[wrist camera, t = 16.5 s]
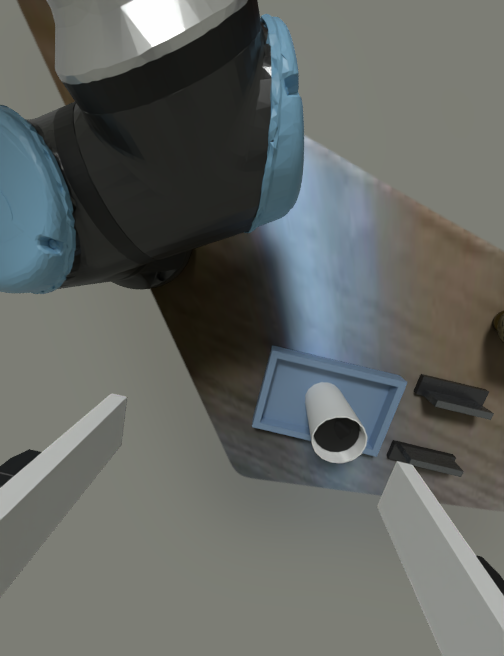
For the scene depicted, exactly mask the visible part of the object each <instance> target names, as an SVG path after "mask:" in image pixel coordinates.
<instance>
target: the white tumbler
mask: <svg viewBox="0 0 504 656" xmlns="http://www.w3.org/2000/svg"><path fill="white" fill-rule="evenodd" d="M305 405H306V411H307V417H308V423H309V430H310V436H311V442H312V445H313V448H314V450H315V452H316V453H317V454H318V455H319V456H320V457H321V458H322V459H324V460H326V461H329V462H331V463H345V462H348V461H352V460H354V459H355V458H357V457H358V456H359V455H361V453H362V452H363V450H364V449H365V447H366V444H367V434H366V431H365V428H364V427H363V425H362V424H361V422H360V420H359V419H358V417H357V416H356V414H355V413H354V411H353V410H352V408H351V407H350V405H349V404H348V402H347V401H346V399H345V397H344V396H343V394H342V393H341V391H340V390H339V389H338V388H337V387H336V386H335V385H333V384H331V383H327V382H320V383H317V384H314V385H313V386H312V387H311V388H309V389H308V391H307V393H306V395H305Z"/></svg>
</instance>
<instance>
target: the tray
mask: <svg viewBox="0 0 504 656" xmlns="http://www.w3.org/2000/svg"><path fill="white" fill-rule="evenodd" d="M320 382H327V383H331V384H333V385H335V386H336V387H337V388H338V389H339V390H340V391H341V393H342V394H343V396H344V397H345V399H346V401H347V402H348V404H349V405H350V407H351V408H352V410H353V411H354V413H355V414H356V416H357V417H358V419H359V420H360V422H361V424H362V425H363V427H364V428H365V431H366V434H367V444H366V447H365V449H364V450H363V452H362V453H363V454H367V455H372V456H376V457H377V455H378V452H379V450H380V448H381V445H382V443H383V440H384V438H385V436H386V433H387V431H388V428H389V426H390V423H391V421H392V419H393V416H394V414H395V411H396V409H397V407H398V404H399V402H400V399H401V397H402V394H403V392H404V390H405V387H406V385H407V382H406V381H405V380H404V379H403V378H402V377H401V376H400V375H396V374H391V373H387V372H383V371H379V370H375V369H370V368H366V367H362V366H358V365H354V364H349V363H345V362H341V361H337V360H333V359H328V358H324V357H320V356H316V355H312V354H307V353H303V352H299V351H295V350H291V349H286V348H282V347H278V346H274V345H272V347H271V351H270V355H269V359H268V363H267V366H266V370H265V374H264V378H263V382H262V385H261V389H260V393H259V397H258V401H257V405H256V408H255V412H254V416H253V423H252V427H254V428H259V429H263V430H267V431H271V432H275V433H280V434H284V435H288V436H292V437H296V438H300V439H305V440H309V441H311V436H310V430H309V423H308V417H307V411H306V405H305V395H306V393H307V391H308V389H309V388H311V387H312V386H313V385H314V384H317V383H320Z"/></svg>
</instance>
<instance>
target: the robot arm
mask: <svg viewBox="0 0 504 656" xmlns="http://www.w3.org/2000/svg"><path fill="white" fill-rule="evenodd" d="M46 1H47V2H48V4H49V6H50V7H51V10H52V13H53V17H54V21H55V25H56V27H55V70H56V73H57V75H58V76H59V78H60V80H61V81H62V82H63V84H64V85H65V87H66V88H67V90H68V91H69V93H70V94H71V96H72V97H73V99H74V100H75V102H73V103H71V104H68V105H66V106H64V107H62V108H59V109H57V110H54V111H52V112H49V113H47V114H45V115H42V116H40V117H38V118H35V119H30V120H25V119H24V118H22V117H21V116H20V115H19V114H18V113H17V112H15V111H14V110H12V109H10V108H8V107H7V106H4V105H0V291H1V292H6V293H30V292H31V293H34V294H39V293H40V294H45V293H49V292H52V291H54V290H56V289H61V288H68V287H75V286H81V285H88V284H95V283H102V282H110V281H111V282H113V283H115V284H118V285H120V286H123V287H127V288H132V289H150V288H154V287H158V286H161V285H164V284H166V283H168V282H170V281H171V280H173V279H174V278H175V277H177V276H178V275H179V274H180V273H181V271H182V270H183V269H184V267H185V266H186V264H187V262H188V260H189V258H190V255H191V252H192V249H194V248H197V247H200V246H203V245H206V244H209V243H213V242H216V241H219V240H222V239H225V238H228V237H231V236H234V235H237V234H240V233H243V232H244V233H250V232H252V231H253V230H255V229H256V228H257V227H259V226H261V225H264V224H267V223H269V222H272V221H274V220H277V219H280V218H282V217H283V216H285V215H286V214H287V213H288V212H289V211H290V209H291V208H293V206H294V205H295V203H296V201H297V198H298V195H299V192H300V188H301V182H302V175H303V162H304V121H303V106H302V99H301V97H300V96H299V93H298V87H299V86H298V66H297V59H296V54H295V50H294V46H293V42H292V38H291V36H290V33H289V30H288V28H287V26H286V25H285V23H284V22H283V21H282V20H281V19H280V18H279V17H271V16H270V15H269V14H264V15H263V16H261V18H260V14H259V8H258V2H257V0H46ZM126 402H127V397H126V396H122V395H118V394H113V393H111V394H110V395H109V396H107V397H106V398H105V399H104V400H103V401H102V402H101V403H99V404H98V405H97V406H96V407H95V408H93V409H92V410H91V411H90V412H89V413H87V414H86V415H85V416H84V417H83V418H82V419H81V420H79V421H78V422H77V423H76V424H75V425H73V426H72V427H71V428H70V429H69V430H68V431H66V432H65V433H64V434H63V435H62V436H61V437H59V438H58V439H57V440H56V441H55V442H53V443H52V444H51V445H50V446H49V447H48V448H46V449H45V450H44V451H43V452H38V451H34V450H30V449H29V450H27V451H25V452H23V453H21V454H19V455H17V456H14V457H12V458H10V459H9V460H8V461H6V462H5V463H4V464H3V465H1V466H0V598H1V596H2V595H3V594H4V593H5V591H6V590H7V589H8V587H9V586H10V585H11V584H12V582H13V581H14V580H15V579H16V577H17V576H18V575H19V574H20V572H21V571H22V570H23V568H24V567H25V566H26V565H27V563H28V562H29V561H30V560H31V558H32V557H33V556H34V555H35V553H36V552H37V551H38V550H39V548H40V547H41V546H42V545H43V543H44V542H45V541H46V540H47V538H48V537H49V536H50V534H51V533H52V532H53V531H54V529H55V528H56V527H57V525H58V524H59V523H60V522H61V521H62V519H63V518H64V517H65V516H66V514H67V513H68V512H69V510H70V509H71V508H72V507H73V505H74V504H75V503H76V502H77V500H78V499H79V498H80V497H81V495H82V494H83V493H84V491H85V490H86V489H87V488H88V487H89V485H90V484H91V483H92V481H93V480H94V479H95V478H96V476H97V475H98V474H99V473H100V471H101V470H102V469H103V468H104V466H105V465H106V464H107V462H108V461H109V460H110V459H111V457H112V456H113V455H114V454H115V452H116V451H117V450H118V449H119V447H120V446H121V444H122V435H123V427H124V419H125V411H126ZM377 507H378V510H379V512H380V514H381V517H382V519H383V521H384V523H385V525H386V528H387V530H388V532H389V535H390V537H391V539H392V542H393V544H394V546H395V549H396V551H397V553H398V555H399V558H400V560H401V562H402V565H403V567H404V569H405V572H406V574H407V576H408V578H409V581H410V583H411V585H412V587H413V590H414V592H415V595H416V597H417V599H418V601H419V604H420V606H421V608H422V611H423V613H424V615H425V618H426V620H427V622H428V624H429V627H430V629H431V631H432V634H433V636H434V638H435V640H436V642H437V645H438V647H439V650H440V652H441V654H442V656H504V580H503V579H502V578H501V576H500V575H499V574H498V573H497V572H496V571H495V570H494V569H493V568H492V567H491V566H490V565H489V564H488V562H487V561H485V560H484V558H482V557H480V556H476V555H475V554H474V552H473V551H472V550H471V548H470V547H469V545H468V544H467V543H466V541H465V539H464V538H463V537H462V535H461V534H460V532H459V531H458V529H457V528H456V527H455V525H454V524H453V522H452V521H451V519H450V518H449V517H448V515H447V514H446V512H445V511H444V509H443V508H442V506H441V505H440V504H439V502H438V501H437V499H436V498H435V496H434V495H433V493H432V492H431V491H430V489H429V488H428V486H427V485H426V483H425V482H424V481H423V479H422V478H421V476H420V475H419V473H418V472H417V470H416V469H415V468H414V466H413V465H411V464H407V463H403V462H398V461H397V462H396V464H395V467H394V469H393V471H392V473H391V476H390V478H389V480H388V482H387V485H386V487H385V489H384V492H383V494H382V496H381V498H380V501H379V503H378V506H377Z"/></svg>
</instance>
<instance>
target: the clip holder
mask: <svg viewBox="0 0 504 656" xmlns="http://www.w3.org/2000/svg"><path fill="white" fill-rule="evenodd" d="M414 392H415V393H416V394H419V395H423V396H424V397H425V398H426V399H427V400H428V401H429V402H431V403H432V404H433V405H434V406H435V407H439V408H443V409H447V410H452V411H456V412H460V413H464V414H468V415H473V416H477V417H481V418H485V419H489V420H491V418H492V416H493V414H494V413H492V412H491V411H489V410H488V409H486V408H485V407H483V406H482V405H483V403H484V401H485V399H486V397H487V395H488V393H489V391H487V390H485V389H482V388H477V387H473V386H469V385H465V384H461V383H456V382H452V381H448V380H444V379H440V378H435V377H431V376H427V375H423V374H421V375H420V378H419V380H418V382H417V385H416V387H415V389H414ZM387 457H388V459H392V460H396V461H400V462H405V463H408V464H411V465H413V466H417V467H421V468H426V469H430V470H434V471H438V472H442V473H447V474H451V475H455V476H459V477H461V476H462V474H463V472H464V471H463V470H462V469H461V468H460V467H459V466H458V465H457V464H456V463H455V459H456V457H455V456H454V455H453V454H449V453H445V452H441V451H436V450H432V449H428V448H424V447H420V446H415V445H411V444H407V443H403V442H399V441H394V440H393V441H392V444H391V446H390V448H389V451H388V453H387Z"/></svg>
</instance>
